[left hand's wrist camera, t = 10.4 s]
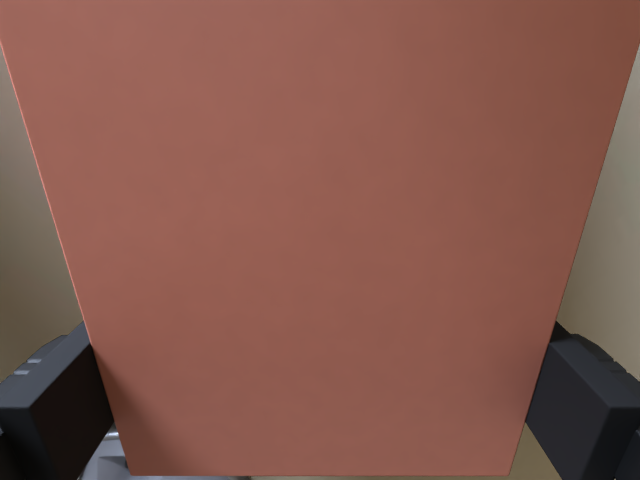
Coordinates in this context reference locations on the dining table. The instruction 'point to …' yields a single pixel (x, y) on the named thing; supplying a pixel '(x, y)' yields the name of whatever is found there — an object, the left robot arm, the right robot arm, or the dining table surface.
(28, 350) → the dining table surface
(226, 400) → the cabinet
